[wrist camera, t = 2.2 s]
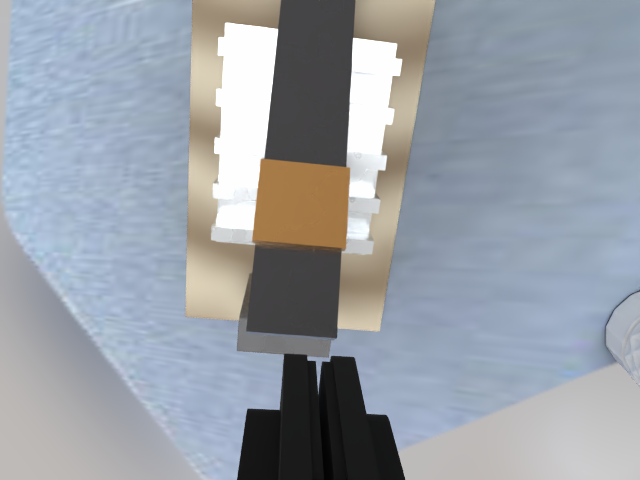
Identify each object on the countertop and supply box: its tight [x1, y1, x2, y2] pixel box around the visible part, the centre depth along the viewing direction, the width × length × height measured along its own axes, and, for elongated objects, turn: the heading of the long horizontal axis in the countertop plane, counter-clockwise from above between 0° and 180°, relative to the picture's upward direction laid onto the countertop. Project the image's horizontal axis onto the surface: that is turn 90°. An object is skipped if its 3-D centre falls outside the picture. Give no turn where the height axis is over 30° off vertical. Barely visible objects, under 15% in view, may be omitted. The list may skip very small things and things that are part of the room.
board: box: [185, 0, 435, 331], centre depth 30 cm, size 24×13×2 cm, turn 174°
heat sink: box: [211, 23, 402, 358], centre depth 26 cm, size 22×9×6 cm, turn 174°
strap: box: [246, 0, 355, 340], centre depth 19 cm, size 18×4×2 cm
